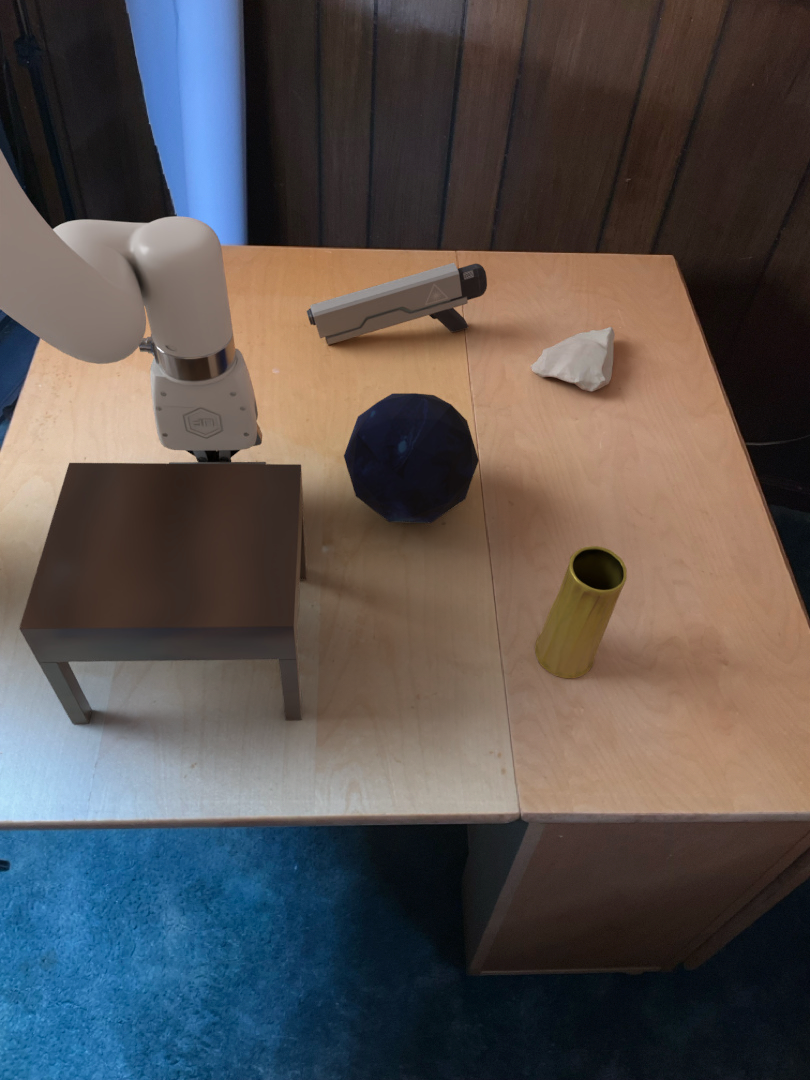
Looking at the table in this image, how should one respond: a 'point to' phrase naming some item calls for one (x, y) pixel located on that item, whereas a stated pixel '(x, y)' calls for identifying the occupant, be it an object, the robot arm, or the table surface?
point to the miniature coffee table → (170, 571)
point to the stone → (580, 359)
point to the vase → (581, 612)
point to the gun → (400, 303)
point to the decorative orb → (411, 457)
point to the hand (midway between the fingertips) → (219, 479)
